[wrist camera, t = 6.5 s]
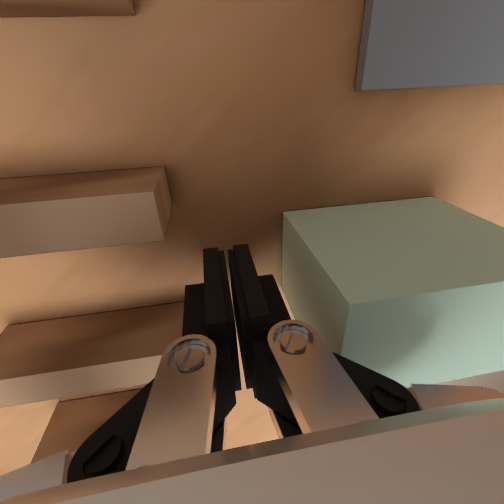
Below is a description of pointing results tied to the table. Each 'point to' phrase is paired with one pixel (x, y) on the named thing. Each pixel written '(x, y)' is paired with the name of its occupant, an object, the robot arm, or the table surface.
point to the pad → (431, 44)
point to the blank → (400, 286)
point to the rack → (75, 238)
